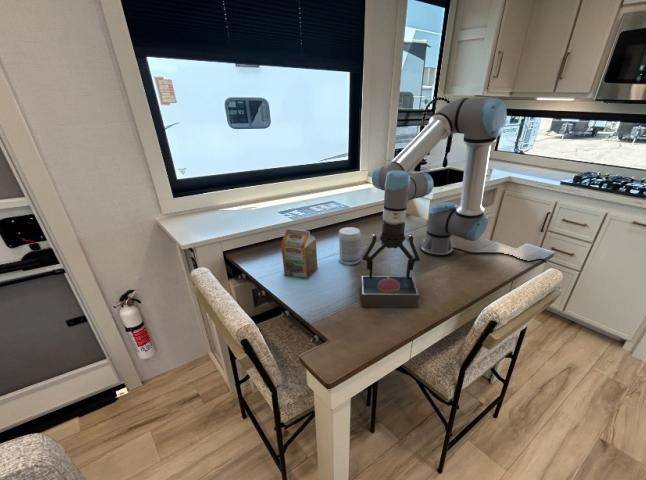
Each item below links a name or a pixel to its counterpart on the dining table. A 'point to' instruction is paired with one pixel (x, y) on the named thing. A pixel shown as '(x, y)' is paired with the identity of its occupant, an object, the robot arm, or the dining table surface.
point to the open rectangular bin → (402, 298)
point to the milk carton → (299, 253)
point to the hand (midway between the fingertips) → (389, 277)
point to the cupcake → (388, 285)
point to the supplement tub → (349, 245)
